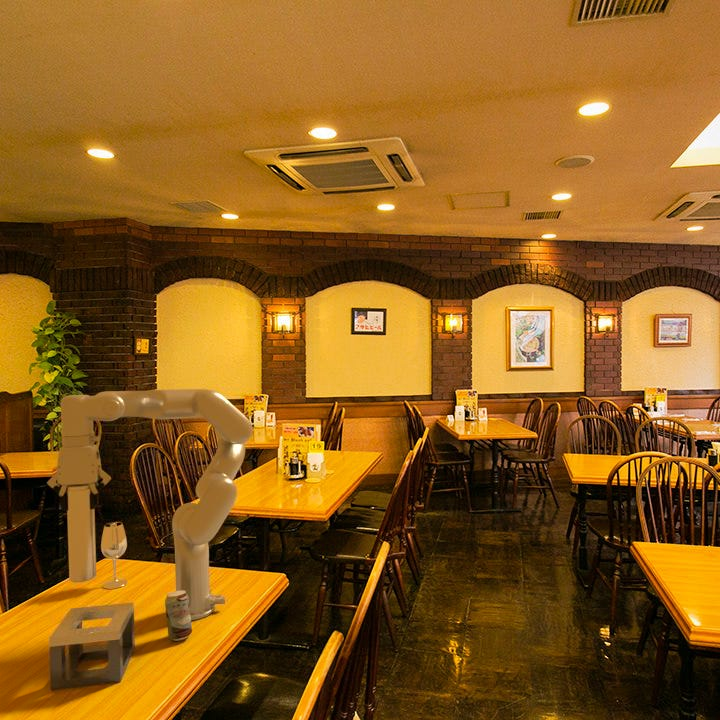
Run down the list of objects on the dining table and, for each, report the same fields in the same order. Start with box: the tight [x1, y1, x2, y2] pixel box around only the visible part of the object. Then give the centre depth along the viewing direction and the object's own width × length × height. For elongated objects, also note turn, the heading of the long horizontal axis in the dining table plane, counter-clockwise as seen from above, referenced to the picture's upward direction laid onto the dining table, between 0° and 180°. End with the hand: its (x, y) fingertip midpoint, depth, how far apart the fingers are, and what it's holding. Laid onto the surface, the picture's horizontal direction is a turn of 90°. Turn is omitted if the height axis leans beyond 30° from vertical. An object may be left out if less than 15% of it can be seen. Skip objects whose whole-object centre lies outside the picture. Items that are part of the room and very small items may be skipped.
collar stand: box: [48, 601, 136, 691], centre depth 135 cm, size 15×15×12 cm
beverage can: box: [164, 590, 193, 642], centre depth 149 cm, size 6×7×12 cm
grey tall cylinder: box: [66, 484, 97, 584], centre depth 148 cm, size 6×6×25 cm
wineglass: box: [100, 521, 128, 590], centre depth 185 cm, size 8×8×20 cm
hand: (80, 508), depth 148 cm, fingers closed on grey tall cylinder, 6 cm apart
